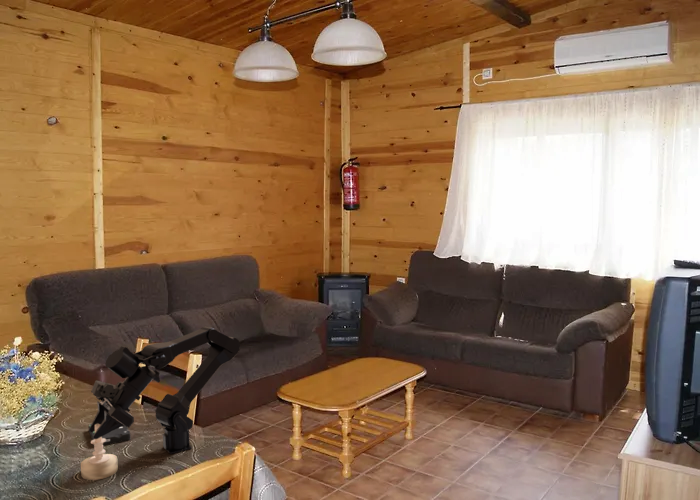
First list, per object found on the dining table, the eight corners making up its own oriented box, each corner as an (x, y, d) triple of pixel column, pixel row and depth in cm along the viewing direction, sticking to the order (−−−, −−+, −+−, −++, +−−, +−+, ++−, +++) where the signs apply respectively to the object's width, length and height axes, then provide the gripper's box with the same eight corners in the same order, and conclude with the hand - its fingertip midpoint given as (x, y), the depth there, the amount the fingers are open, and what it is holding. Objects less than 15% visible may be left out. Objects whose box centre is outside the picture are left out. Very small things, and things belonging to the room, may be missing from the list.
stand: (113, 461, 169) (112, 451, 168) (121, 473, 161) (121, 462, 161) (78, 470, 164) (77, 459, 163) (85, 483, 156) (84, 471, 156)
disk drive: (131, 441, 184) (122, 425, 196) (131, 432, 183) (122, 417, 196) (94, 449, 179) (87, 432, 191) (94, 440, 178) (87, 423, 191)
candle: (112, 455, 165) (110, 418, 164) (105, 464, 160) (103, 426, 159) (93, 456, 165) (91, 419, 164) (85, 465, 160) (83, 426, 159)
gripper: (102, 361, 170) (61, 408, 165) (118, 378, 154) (74, 430, 149) (132, 383, 175) (93, 429, 170) (151, 401, 160) (109, 453, 154)
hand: (92, 434), depth 161 cm, fingers open, 5 cm apart
